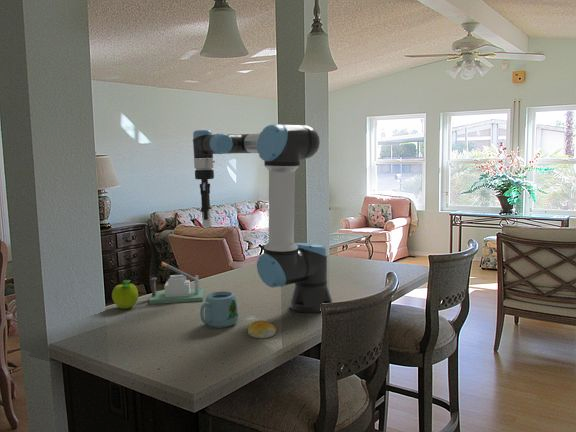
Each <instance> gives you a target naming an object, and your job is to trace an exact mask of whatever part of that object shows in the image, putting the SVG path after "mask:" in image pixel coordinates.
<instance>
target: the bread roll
mask: <svg viewBox="0 0 576 432" xmlns="http://www.w3.org/2000/svg"><path fill="white" fill-rule="evenodd" d="M276 331H277V329H276V327H275V325H274V324H272V323H269V322H268V321H266V320H255V321H253V322H251V324H250V325H249V326H248V328H247V333H248V336H251V338H253V339H267V338H271V337H273V336H274V335H275V334H276Z"/></svg>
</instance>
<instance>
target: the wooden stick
mask: <svg viewBox="0 0 576 432" xmlns="http://www.w3.org/2000/svg"><path fill="white" fill-rule="evenodd" d="M160 265H161V266H163V267H165V268H167V269H169V270H171V271H174V272H176V273H177V274H178V275H183V276H185V277H186V279H187V278H188V280H192V281H194V282H195V280H194V278H195V276H192V275H190V274H189V273H186V272H185V271H183V270H180V269H178V268H176V267H174V266H172V265H170V264H169V263H166V262H164V261H162V262H161V264H160Z"/></svg>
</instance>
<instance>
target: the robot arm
mask: <svg viewBox="0 0 576 432" xmlns="http://www.w3.org/2000/svg"><path fill="white" fill-rule="evenodd" d="M192 134H193V135H192V136H193V137H192V138H193V139H192V146H193V147H192V148H193V163H194V164H193V165H194V167H193V168H194V169H195V170H194V178H195V180H200V181H201V182H200V183H199V189H200V196H201V198H200V199H201V209H200V212H201V215H202V219H201V220H202V228H203V229H207V228H210V227H211V226H212V223H211V210H212V208H213V207H212V206H211V201H210V193H211V189H210V188H211V183H209V180H213V179H214V178H215V173H214V164H215V160H214V155H225V154H226V155H227V154H228V155H229V154H258V157H259V158H260V159H261V160H262V161H264V164H263V165H264V167H265V169H267V171H268V241H267V243H266V244H265V245H264V247H263V254H261V255H259V257H258V258H257V260H256V271H257V273H258V276H259V279H260V280H261V281H262V282H263V283H264V285H266V286H267V287H269V288H282V287H284V286H285V287H286V286H288V285H292V284H294V288H293V291H292V295H291V298H290V301H289V302H290V309H291V310H293V311H296V312H299V313H306V314H307V313H313V314H314V313H321V312H320V304H322V303H332V304H333V299H332V295H331V293H330V290H329V287H328V255H327V247H325V246H324V245H322V244H319V243H311V242H309V243H308V242H295V200H296V199H295V195H296V194H295V191H296V190H295V189H296V188H295V186H296V177H295V176H296V171H297V170H298V169H299V167H300V166H301V165H300V164H301V163H300V162H301V160H307V159H309V158H311V157H313V156H315V154H317V152H318V151H319V148H320V141H321V140H320V136H319V133H318V132H317V131H316V130H315V129H314V128H313V127H312V126H309V125H306V124H289V123H288V124H284V123H277V124H269V125H266V126H265V127H264V128H263V129H262V131H261V132H259V133H242V134H241V133H240V134H239V133H238V134H234V133H233V134H232V133H216V134H214V133H212V131H211V129H210V130H209V129H200V130H198V129H197V130H194V131H193V133H192Z"/></svg>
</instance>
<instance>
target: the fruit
mask: <svg viewBox="0 0 576 432" xmlns="http://www.w3.org/2000/svg"><path fill="white" fill-rule="evenodd" d="M138 291H139V290H138V288H137V286H136V285H135V284H133V283H131V280H130V279H124V280H123V281H122V283H120V284H118V285H115V286H114V288H113V289H112V293H111V298H112V301H113V303H114V304H115V305H116V306H117V307H118V308H119V309H123V310H126V309H127V310H128V309H130V308H132V307H134V306H135V304H136V303H137V302H138V299H139V292H138Z"/></svg>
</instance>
